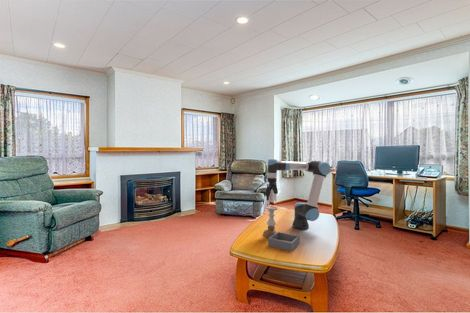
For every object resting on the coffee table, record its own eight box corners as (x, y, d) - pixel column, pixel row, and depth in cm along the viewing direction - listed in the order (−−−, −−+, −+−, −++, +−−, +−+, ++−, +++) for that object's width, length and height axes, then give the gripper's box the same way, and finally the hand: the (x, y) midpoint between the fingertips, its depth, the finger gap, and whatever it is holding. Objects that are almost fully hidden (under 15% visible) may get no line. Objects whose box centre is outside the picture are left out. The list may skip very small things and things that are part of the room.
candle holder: (266, 238, 208) (267, 209, 208) (262, 233, 219) (263, 206, 218) (279, 237, 210) (280, 209, 210) (274, 233, 221) (275, 206, 220)
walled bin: (277, 238, 207) (277, 231, 207) (299, 243, 197) (299, 236, 197) (268, 245, 192) (268, 238, 192) (291, 251, 182) (291, 243, 182)
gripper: (274, 176, 226) (273, 199, 226) (261, 178, 205) (260, 204, 205) (281, 176, 222) (281, 200, 222) (269, 179, 201) (269, 205, 201)
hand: (271, 202), depth 214 cm, fingers open, 13 cm apart
